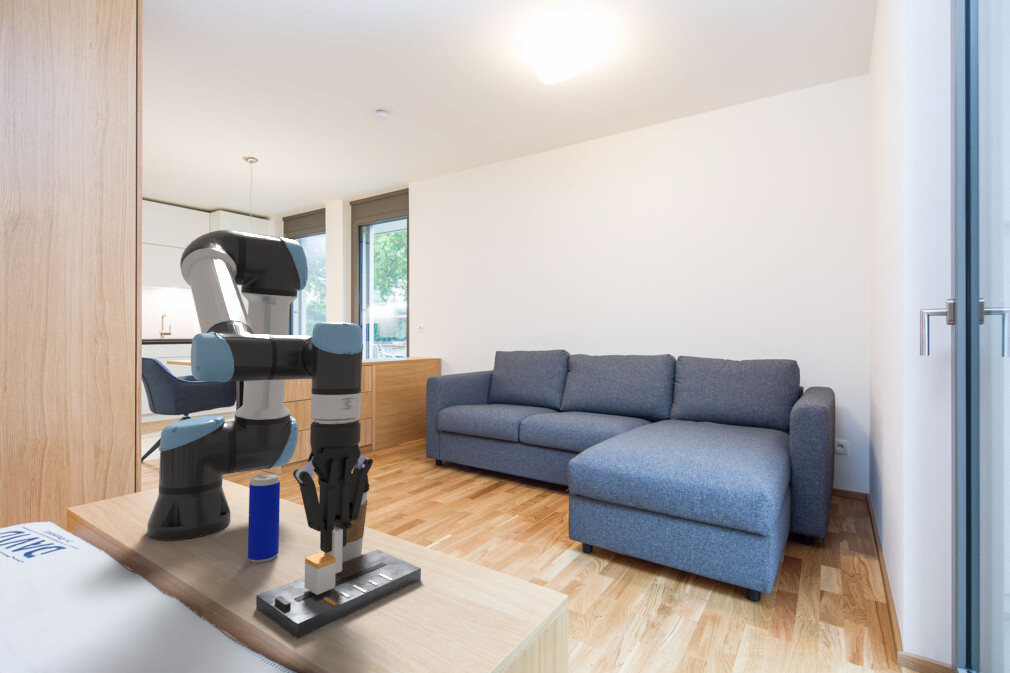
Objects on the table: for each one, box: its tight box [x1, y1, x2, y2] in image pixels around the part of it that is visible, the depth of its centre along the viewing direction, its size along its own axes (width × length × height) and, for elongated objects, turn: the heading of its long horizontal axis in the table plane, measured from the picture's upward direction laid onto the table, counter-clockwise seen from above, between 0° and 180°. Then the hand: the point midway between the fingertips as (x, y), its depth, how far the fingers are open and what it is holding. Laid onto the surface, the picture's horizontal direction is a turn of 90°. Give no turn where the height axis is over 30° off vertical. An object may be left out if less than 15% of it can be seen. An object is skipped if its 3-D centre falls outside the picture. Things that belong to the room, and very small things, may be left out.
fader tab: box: [304, 551, 336, 595], centre depth 75 cm, size 4×3×4 cm
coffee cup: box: [334, 474, 370, 562], centre depth 93 cm, size 8×8×15 cm
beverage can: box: [247, 473, 281, 564], centre depth 92 cm, size 5×5×15 cm
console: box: [255, 549, 422, 640], centre depth 79 cm, size 12×22×3 cm, turn 141°
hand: (332, 569), depth 77 cm, fingers closed
